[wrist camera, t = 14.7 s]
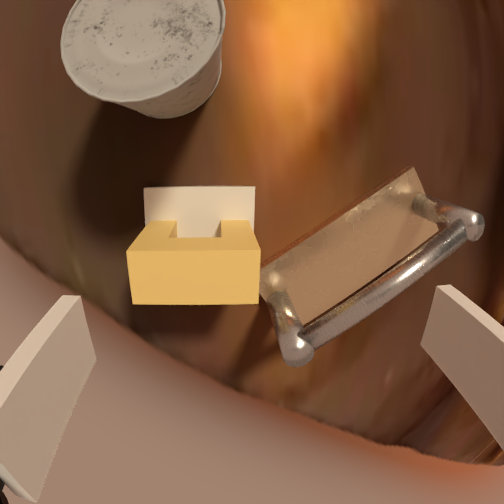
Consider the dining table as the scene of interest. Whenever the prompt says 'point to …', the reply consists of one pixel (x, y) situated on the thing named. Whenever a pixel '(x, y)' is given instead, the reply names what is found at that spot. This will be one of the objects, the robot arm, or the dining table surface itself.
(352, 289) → the rail stand
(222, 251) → the c link
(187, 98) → the grey speckled cylinder
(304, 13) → the dining table surface
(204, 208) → the coaster
